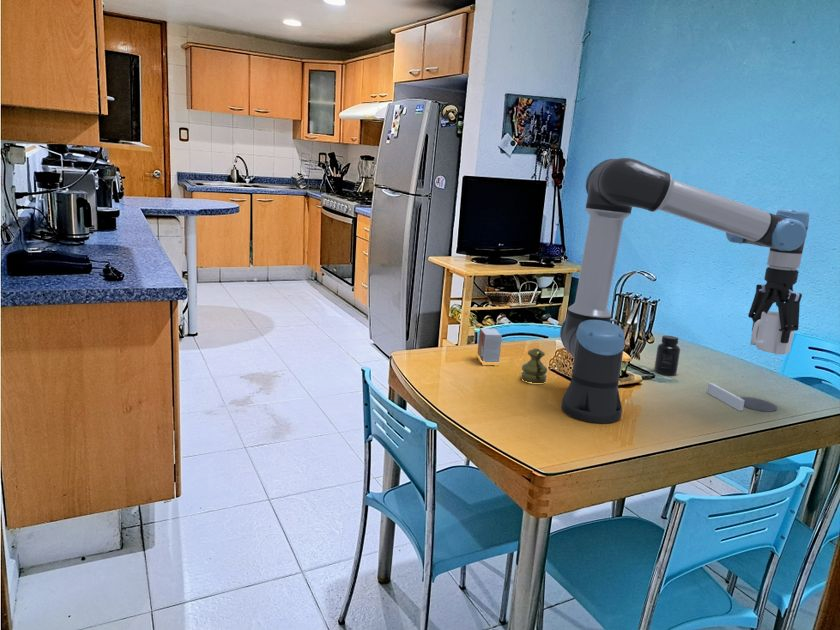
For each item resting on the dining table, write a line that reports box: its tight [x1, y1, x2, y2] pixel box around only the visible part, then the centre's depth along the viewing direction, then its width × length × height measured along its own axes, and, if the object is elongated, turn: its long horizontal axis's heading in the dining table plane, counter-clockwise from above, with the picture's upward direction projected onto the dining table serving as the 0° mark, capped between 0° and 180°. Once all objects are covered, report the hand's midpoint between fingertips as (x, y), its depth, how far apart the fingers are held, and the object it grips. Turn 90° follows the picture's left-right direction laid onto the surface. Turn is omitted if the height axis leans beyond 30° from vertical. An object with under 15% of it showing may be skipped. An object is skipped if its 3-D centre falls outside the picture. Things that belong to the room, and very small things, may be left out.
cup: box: [751, 310, 795, 355], centre depth 161 cm, size 8×12×10 cm
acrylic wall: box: [706, 382, 745, 412], centre depth 167 cm, size 1×14×3 cm, turn 10°
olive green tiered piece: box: [520, 348, 548, 384], centre depth 174 cm, size 7×7×10 cm
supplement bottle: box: [653, 335, 681, 377], centre depth 189 cm, size 7×7×12 cm
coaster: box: [739, 396, 778, 413], centre depth 166 cm, size 10×10×1 cm
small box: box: [477, 327, 503, 363], centre depth 189 cm, size 8×6×10 cm
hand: (766, 349), depth 162 cm, fingers closed on cup, 8 cm apart
